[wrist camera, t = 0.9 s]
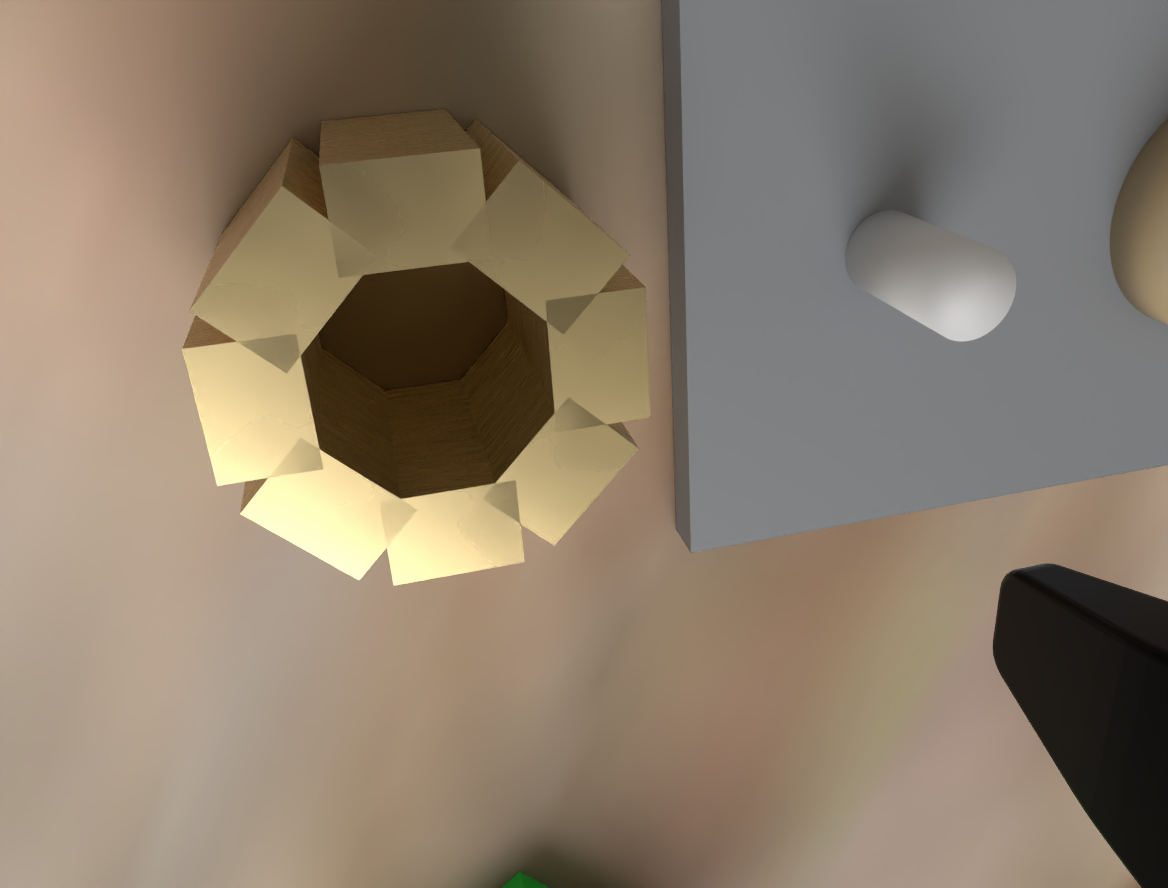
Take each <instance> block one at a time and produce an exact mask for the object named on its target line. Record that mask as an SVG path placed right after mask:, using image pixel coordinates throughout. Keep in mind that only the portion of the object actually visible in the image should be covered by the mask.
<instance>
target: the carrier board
mask: <svg viewBox="0 0 1168 888" xmlns="http://www.w3.org/2000/svg"><path fill="white" fill-rule="evenodd" d="M662 35H663V71H664V107H665V143H666V179H667V214H668V250H669V286H670V322H671V358H672V393H673V429H674V465H675V501H676V530H677V532H678V533H679V535H680V536H681V538H682V540H683V541H684V543H685V544H686V546H687V548H688V549H689V551H690V552H691V553H693V552H699V551H704V550H710V549H715V548H721V547H726V546H731V545H737V544H742V543H748V542H753V541H758V540H764V539H769V538H775V537H780V536H786V535H791V534H796V533H802V532H807V531H813V530H818V529H824V528H829V527H834V526H840V525H845V524H851V523H856V522H861V521H867V520H872V519H878V518H883V517H889V516H894V515H899V514H905V513H910V512H916V511H921V510H927V509H932V508H937V507H943V506H948V505H954V504H959V503H964V502H970V501H975V500H981V499H986V498H992V497H997V496H1002V495H1008V494H1013V493H1019V492H1024V491H1030V490H1035V489H1040V488H1046V487H1051V486H1057V485H1062V484H1067V483H1073V482H1078V481H1084V480H1089V479H1095V478H1100V477H1105V476H1111V475H1116V474H1122V473H1127V472H1133V471H1138V470H1143V469H1149V468H1154V467H1160V466H1165V465H1168V0H662Z"/></svg>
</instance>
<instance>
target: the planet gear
mask: <svg viewBox="0 0 1168 888" xmlns="http://www.w3.org/2000/svg"><path fill="white" fill-rule="evenodd" d="M629 256H630V254H629V253H627V252H626V251H625V250H624V249H623V248H622V247H621V246H620V245H619V244H618V243H617V242H615V241H614V240H613V239H612V238H611V237H610V236H609V235H608V234H607V233H606V232H605V231H603V230H602V229H601V228H600V227H599V226H598V225H597V224H596V223H595V222H594V221H592V220H591V219H590V218H589V217H588V216H587V215H586V214H585V213H584V212H583V211H582V210H580V209H579V208H578V207H577V206H576V205H575V204H574V203H573V202H572V201H571V200H570V199H568V198H567V197H566V196H565V195H564V194H563V193H562V192H561V191H559V190H558V189H557V188H556V187H555V186H554V185H552V184H551V183H550V182H549V181H548V180H546V179H545V178H544V177H543V176H542V175H541V174H539V173H538V172H537V171H536V170H535V169H534V168H532V167H531V166H530V165H529V164H528V163H527V162H525V161H524V160H523V159H522V158H521V157H520V156H518V155H517V154H516V153H515V152H514V151H513V150H511V149H510V148H509V147H508V146H507V145H505V144H504V143H503V142H502V141H501V140H500V139H498V138H497V137H496V136H495V135H494V134H493V133H491V132H490V131H489V130H488V129H487V128H486V127H484V126H483V125H482V124H481V123H480V122H479V121H477V120H476V119H475V120H474V121H473V123H472V124H471V125H470V127H469V128H468V129H467V130H466V132H465V131H464V130H463V129H462V128H461V126H460V125H459V124H458V123H457V122H456V121H455V120H454V119H453V117H452V116H451V115H450V114H449V113H448V112H447V111H446V110H445V109H441V110H431V111H421V112H410V113H400V114H390V115H379V116H369V117H359V118H348V119H338V120H328V121H321V135H320V153H319V156H317V155H316V154H315V153H313V152H312V151H311V150H309V149H308V148H307V147H306V146H304V145H303V144H302V143H300V142H299V141H298V140H296V139H295V138H294V137H293V138H292V139H291V140H290V142H289V143H288V145H287V146H286V147H285V149H284V150H283V151H282V153H281V154H280V155H279V157H278V158H277V160H276V161H275V162H274V164H273V165H272V166H271V168H270V169H269V170H268V172H267V173H266V175H265V176H264V177H263V179H262V180H261V181H260V183H259V184H258V185H257V187H256V188H255V190H254V191H253V192H252V194H251V195H250V196H249V198H248V199H247V201H246V202H245V203H244V205H243V206H242V207H241V209H240V210H239V211H238V213H237V214H236V216H235V217H234V218H233V220H232V221H231V222H230V224H229V225H228V226H227V228H226V229H225V231H224V232H223V233H222V235H221V237H220V240H219V242H218V244H217V247H216V249H215V252H214V254H213V256H212V259H211V261H210V263H209V266H208V268H207V270H206V273H205V275H204V278H203V280H202V282H201V285H200V287H199V289H198V292H197V294H196V297H195V299H194V301H193V304H192V306H191V308H190V312H192V313H193V314H195V315H196V316H195V318H194V321H193V323H192V326H191V328H190V331H189V333H188V336H187V338H186V341H185V343H184V346H183V348H182V350H183V354H184V358H185V362H186V366H187V370H188V374H189V377H190V381H191V385H192V389H193V393H194V397H195V401H196V405H197V408H198V412H199V416H200V420H201V424H202V428H203V432H204V436H205V439H206V443H207V447H208V451H209V455H210V459H211V463H212V467H213V470H214V474H215V478H216V482H217V486H220V485H226V484H233V483H239V482H245V487H244V493H243V499H242V505H241V511H240V514H241V515H243V516H245V517H247V518H248V519H250V520H252V521H254V522H256V523H257V524H259V525H261V526H263V527H265V528H266V529H268V530H270V531H272V532H274V533H275V534H277V535H279V536H281V537H282V538H284V539H286V540H288V541H290V542H291V543H293V544H295V545H297V546H299V547H300V548H302V549H304V550H306V551H308V552H309V553H311V554H313V555H315V556H317V557H318V558H320V559H322V560H324V561H325V562H327V563H329V564H331V565H333V566H334V567H336V568H338V569H340V570H342V571H343V572H345V573H347V574H349V575H351V576H352V577H354V578H356V579H358V580H360V579H361V577H362V576H363V575H364V574H365V573H366V571H367V570H368V569H369V568H370V567H371V565H372V564H373V563H374V562H375V561H376V559H377V558H378V557H379V556H380V555H381V553H382V552H383V551H384V550H385V549H386V547H387V550H388V556H389V562H390V567H391V573H392V578H393V584H394V585H400V584H405V583H411V582H416V581H422V580H427V579H433V578H439V577H444V576H450V575H455V574H461V573H466V572H472V571H477V570H483V569H488V568H494V567H499V566H505V565H511V564H516V563H522V562H525V561H524V552H523V543H522V533H521V524H522V525H523V526H525V527H526V528H528V529H529V530H531V531H532V532H534V533H536V534H537V535H539V536H540V537H542V538H543V539H545V540H546V541H548V542H550V543H551V544H553V545H555V544H556V543H557V542H558V541H559V539H560V538H561V537H562V536H563V535H564V534H565V533H566V531H567V530H568V529H569V528H570V527H571V526H572V525H573V523H574V522H575V521H576V520H577V519H578V518H579V517H580V515H581V514H582V513H583V512H584V511H585V510H586V509H587V507H588V506H589V505H590V504H591V503H592V502H593V501H594V499H595V498H596V497H597V496H598V495H599V494H600V493H601V491H602V490H603V489H604V488H605V487H606V486H607V485H608V483H609V482H610V481H611V480H612V479H613V478H614V477H615V475H616V474H617V473H618V472H619V471H620V470H621V469H622V467H623V466H624V465H625V464H626V463H627V462H628V461H629V459H630V458H631V457H632V456H633V455H634V454H635V453H636V451H637V450H638V449H639V448H638V446H637V445H636V443H635V442H634V440H633V439H632V437H631V436H630V434H629V433H628V431H627V430H626V428H625V427H624V425H623V424H622V422H625V421H632V420H638V419H644V418H651V416H650V390H649V364H648V339H647V313H646V287H645V286H644V285H643V284H642V283H641V282H640V281H639V280H638V279H637V278H636V277H635V276H634V275H633V274H631V273H630V272H629V271H628V270H627V269H626V268H625V267H624V266H623V265H622V264H623V263H624V262H625V261H626V259H627V258H628V257H629ZM463 262H470V263H471V264H472V265H474V266H475V267H476V268H478V269H479V270H480V271H481V272H483V273H484V274H485V275H487V276H488V277H489V278H491V279H492V280H493V281H494V282H496V283H497V284H498V285H500V286H501V287H502V288H504V292H505V302H506V311H507V321H508V323H507V324H506V325H505V326H504V327H503V329H502V330H501V331H500V332H499V334H498V335H497V336H496V337H495V338H494V340H493V341H492V342H491V343H490V345H489V346H488V347H487V348H486V349H485V351H484V352H483V353H482V354H481V356H480V357H479V358H478V359H477V360H476V362H475V363H474V364H473V365H472V367H471V368H470V369H469V370H468V371H467V373H466V374H465V375H464V376H463V378H462V379H461V380H455V381H448V382H441V383H434V384H427V385H420V386H414V387H407V388H400V389H393V390H384V389H383V388H381V387H380V386H378V385H377V384H375V383H374V382H372V381H371V380H369V379H368V378H366V377H365V376H363V375H362V374H360V373H359V372H357V371H356V370H354V369H353V368H351V367H350V366H348V365H347V364H345V363H344V362H342V361H341V360H339V359H338V358H336V357H335V356H333V355H332V354H330V353H329V352H327V351H326V350H324V349H323V348H322V347H321V342H320V337H319V331H320V330H321V329H322V327H323V326H324V325H325V324H326V322H327V321H328V320H329V318H330V317H331V316H332V315H333V313H334V312H335V311H336V309H337V308H338V307H339V306H340V304H341V303H342V302H343V300H344V299H345V298H346V296H347V295H348V294H349V293H350V291H351V290H352V289H353V287H354V286H355V285H356V284H357V282H358V281H359V280H360V278H361V277H362V276H363V275H367V274H375V273H383V272H391V271H399V270H407V269H415V268H423V267H431V266H439V265H447V264H455V263H463Z"/></svg>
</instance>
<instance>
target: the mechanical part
mask: <svg viewBox="0 0 1168 888" xmlns="http://www.w3.org/2000/svg"><path fill="white" fill-rule="evenodd" d="M502 888H549V887H548V886H546V885H544V884H542V883H541V882H539V881H537V880H535V879H533V878H532V877H530V876H528V875H526V874H524V873H523V872H521V871H519V872H518V873H517V874H516V875H515V876H514V877H513V878H512V879H511V880H510V881H508V882H507V883H506V884H505V885H504V886H503V887H502Z"/></svg>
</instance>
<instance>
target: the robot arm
mask: <svg viewBox="0 0 1168 888" xmlns="http://www.w3.org/2000/svg"><path fill="white" fill-rule="evenodd" d="M993 655H994V659H995V663H996V666H997V668H998V670H999V672H1000V674H1001V676H1002V678H1003V679H1004V681H1005V683H1006V684H1007V686H1008V688H1009V689H1010V691H1011V692H1012V694H1013V696H1014V697H1015V699H1016V701H1017V702H1018V704H1019V706H1020V707H1021V709H1022V710H1023V712H1024V714H1025V715H1026V717H1027V719H1028V720H1029V722H1030V723H1031V725H1032V727H1033V728H1034V730H1035V732H1036V733H1037V735H1038V736H1039V738H1040V740H1041V741H1042V743H1043V745H1044V746H1045V748H1046V750H1047V751H1048V753H1049V754H1050V756H1051V758H1052V759H1053V761H1054V763H1055V764H1056V766H1057V767H1058V769H1059V771H1060V772H1061V774H1062V776H1063V777H1064V779H1065V781H1066V782H1067V784H1068V785H1069V787H1070V789H1071V790H1072V792H1073V793H1074V795H1075V797H1076V798H1077V800H1078V801H1079V803H1080V804H1081V806H1082V807H1083V809H1084V810H1085V812H1086V813H1087V815H1088V816H1089V818H1090V819H1091V821H1092V822H1093V823H1094V825H1095V826H1096V828H1097V829H1098V830H1099V832H1100V833H1101V834H1102V836H1103V837H1104V839H1105V840H1106V841H1107V843H1108V844H1109V845H1110V847H1111V848H1112V849H1113V851H1114V852H1115V853H1116V855H1117V856H1118V857H1119V859H1120V860H1121V861H1122V863H1123V864H1124V865H1125V867H1126V868H1127V869H1128V871H1129V872H1130V873H1131V875H1132V876H1133V877H1134V878H1135V880H1136V881H1137V882H1138V884H1139V885H1140V886H1141V888H1168V601H1165V600H1162V599H1159V598H1156V597H1153V596H1150V595H1147V594H1144V593H1141V592H1138V591H1135V590H1132V589H1129V588H1126V587H1123V586H1120V585H1117V584H1114V583H1111V582H1108V581H1105V580H1102V579H1099V578H1096V577H1093V576H1090V575H1087V574H1084V573H1081V572H1077V571H1074V570H1071V569H1068V568H1065V567H1062V566H1059V565H1056V564H1040V565H1035V566H1031V567H1026V568H1021V569H1016V570H1013V571H1011V572H1009V573H1008V574H1006V576H1005V577H1004V579H1003V581H1002V583H1001V587H1000V594H999V601H998V609H997V616H996V623H995V631H994V638H993Z"/></svg>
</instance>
